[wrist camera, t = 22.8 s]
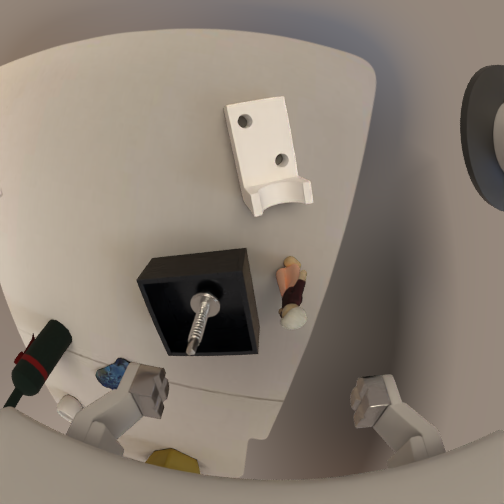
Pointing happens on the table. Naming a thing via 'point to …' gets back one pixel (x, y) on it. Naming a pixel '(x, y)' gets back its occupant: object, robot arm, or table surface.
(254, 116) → the bracket
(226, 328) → the open box
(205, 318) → the screw
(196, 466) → the flower pot
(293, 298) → the grandmother figurine
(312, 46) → the table surface
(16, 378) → the wine bottle
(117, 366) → the rock
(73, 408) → the mug
